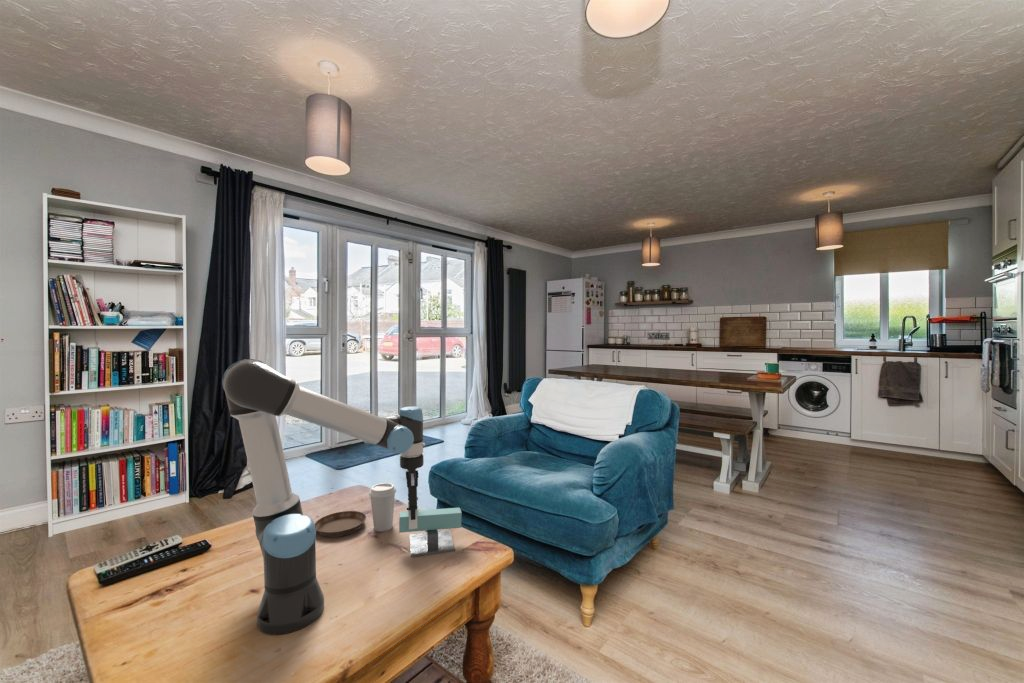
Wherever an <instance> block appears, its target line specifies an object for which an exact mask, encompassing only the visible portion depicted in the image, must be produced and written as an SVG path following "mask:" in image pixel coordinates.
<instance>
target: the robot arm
mask: <svg viewBox="0 0 1024 683" xmlns="http://www.w3.org/2000/svg"><path fill="white" fill-rule="evenodd" d="M221 382H222V383H221V385H222V388H223V390H224V393H225V398H226V401H227V407H228V412H229V415H230V417H233V419H234V418H235V419H236V420H238V424H239V428H240V433H241V437H242V442H243V446H244V450H245V455H246V458H247V465H248V469H249V472H250V477H251V482H252V485H253V486H252V487H253V491H254V496H255V501H256V506H255V507H254V508H253V509H252V511H251V513H252V517H253V521H254V526H255V535H256V536H255V537H256V538H257V540H258V543H259V547H260V550H261V555H262V558H263V571H264V572H263V574H264V575H263V578H264V579H263V580H264V592H263V593H262V597H261V600H260V604H259V607H258V611H257V612H256V613H257V615H256V625H257V628H258V629H259V631H260V632H262V633H265V634H267V635H268V634H269V635H284V634H288V633H293V632H297V631H298V630H300V629H304V628H305V627H307V626H309V625H310V624H312V623H314V622H315V621H316V620H317V619H318V618H319V617H320V616H321V614H322V613H323V612H324V610H325V597H324V596H325V595H324V594H323V591H322V588H321V586H320V583H319V581H318V578H317V563H316V562H317V558H316V556H317V554H316V550H317V549H316V536H317V531H316V529H315V525H314V524H315V522H314V520H313V519H312V518H311V517H310V516H309V515H306V514H303V508H302V502H301V499H300V495H298V494H296V493H294V492H293V490H292V486H291V482H290V477H289V472H288V467H287V463H286V462H287V461H286V457H285V453H284V448H283V444H282V439H281V438H282V437H281V435H280V429H279V425H278V421H277V420H278V419H277V417H282V416H284V415H285V416H290V417H293V418H296V419H297V420H298V419H299V420H300V421H301V420H302V421H305V422H307V423H311V424H313V425H316V426H318V427H321V428H325V429H328V430H332V431H334V432H337V433H340V434H343V435H347V436H349V437H352V438H355V439H358V440H361V441H362V442H363V443H364V444H366V445H368V444H369V445H370V444H372V445H375V446H379V447H381V448H384V449H386V450H389V451H390V452H391V453H396V454H399V455H400V456H399V467H400V468H401V469H403V470H405V479H406V487H407V500H408V502H407V507H406V511H409V529H417V510H418V501H419V496H418V490H417V489H418V486H419V482H418V480H419V471H418V470H417V469H420V468H422V467H423V466H424V464H425V463H424V462H425V460H424V454H423V453H424V447H425V446H426V444H425V443H424V431H423V430H424V416H423V409H422V408H421V407H420V406H419V407H418V406H405V407H400V408H399V410H398V414H396V415H390V416H389V415H388V416H378V415H376V414H373V413H371V412H369V411H365V410H363V409H360V408H357V407H354V406H352V405H349V404H347V403H344V402H342V401H339V400H337V399H333V398H331V397H329V396H326V395H325V394H324V395H323V394H321V393H318V392H315V391H312V390H310V389H308V388H305V387H303V386H301V385H299V383H298V380H296V379H293V378H290V377H288V376H286V375H284V374H282V373H280V372H279V371H277V370H275V369H274V368H272V367H271V366H270V365H268V364H267V363H265V362H263V361H261V360H259V359H253V358H249V359H242V360H237V361H236V362H234V363H232V364H231V365H229V366H228V367H227V369H226V370H225V371H224V373H223V376H222V380H221Z"/></svg>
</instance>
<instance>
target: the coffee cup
mask: <svg viewBox="0 0 1024 683" xmlns="http://www.w3.org/2000/svg"><path fill="white" fill-rule="evenodd" d="M396 493H397V488H396V487H395V484H393V483H390V482H380V483H377V484H374V485H372V486H371V487H370V490H369V492H368V496H370V505H371V506H370V507H371V513H372V522H373V529H374V531H376V532H379V533H381V532H387V531H390V530H391V529H392V528H393V526H394V524H393V523H394V512H395V510H394V509H395V497H396V496H395V495H396Z"/></svg>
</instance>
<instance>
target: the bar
mask: <svg viewBox="0 0 1024 683" xmlns="http://www.w3.org/2000/svg"><path fill="white" fill-rule="evenodd" d="M462 515H463V514H462V510H461V508H460V507H447V508H433V509H431V508H430V509H421V510H420V509H419V510H418V509H417V529H409V511H408V510H404V511H399V519H398V520H399V522H398V523H399V524H398V533H402V534H403V533H412V532H425V531H427V530H437V531H440V530H449V529H450V530H451V529H461V528H462V518H463V516H462Z"/></svg>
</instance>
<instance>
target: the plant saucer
mask: <svg viewBox="0 0 1024 683" xmlns="http://www.w3.org/2000/svg"><path fill="white" fill-rule="evenodd" d="M366 519H367V515H366V514H365V513H363V512H362V511H357V510H356V511H355V510H344V511H338V512H334V513H330V514H327V515H324V516H322V517H320V518H319V519H318V520H316V521H315V522H314V525H315V529H316V533H318V534H320V535H321V536H322V537H327V538H337V537H338V538H339V537H344V536H347V535H350V534H353V533H355V532H357V531H359V529H360V528H362V526H363V525H364V524H365V521H366Z"/></svg>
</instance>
